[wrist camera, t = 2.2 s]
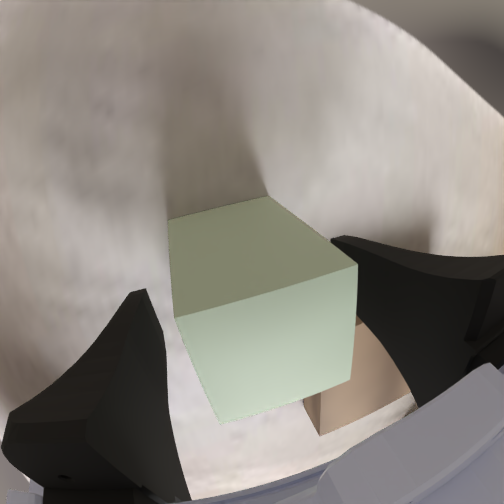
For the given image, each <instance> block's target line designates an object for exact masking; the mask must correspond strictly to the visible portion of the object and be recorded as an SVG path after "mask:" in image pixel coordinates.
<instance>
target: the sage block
mask: <svg viewBox="0 0 504 504" xmlns="http://www.w3.org/2000/svg"><path fill="white" fill-rule="evenodd" d="M168 239H169V258H170V273H171V287H172V299H173V310H174V319H175V321H176V324H177V327H178V329H179V332H180V334H181V337H182V339H183V342H184V345H185V347H186V349H187V352H188V354H189V357H190V359H191V362H192V364H193V366H194V369H195V371H196V373H197V376H198V378H199V380H200V383H201V385H202V387H203V389H204V392H205V394H206V396H207V398H208V400H209V403H210V405H211V407H212V409H213V411H214V413H215V415H216V417H217V420H218V422H219V424H220V425H221V424H225V423H228V422H232V421H236V420H239V419H243V418H246V417H250V416H253V415H256V414H260V413H263V412H266V411H269V410H272V409H275V408H278V407H281V406H284V405H287V404H290V403H293V402H296V401H298V400H301V399H304V398H306V397H309V396H312V395H314V394H317V393H319V392H322V391H324V390H327V389H329V388H332V387H334V386H337V385H339V384H341V383H344V382H346V381H348V380H350V376H351V367H352V357H353V347H354V335H355V322H356V305H357V283H358V264H357V263H356V262H355V261H353V260H352V259H351V258H350V257H348V256H347V255H346V254H345V253H343V252H342V251H341V250H339V249H338V248H337V247H336V246H334V245H333V244H332V243H331V242H329V241H328V240H327V239H325V238H324V237H323V236H322V235H320V234H319V233H318V232H316V231H315V230H314V229H312V228H311V227H310V226H309V225H307V224H306V223H305V222H303V221H302V220H301V219H299V218H298V217H297V216H295V215H294V214H293V213H291V212H290V211H289V210H287V209H286V208H285V207H283V206H282V205H281V204H279V203H278V202H276V201H275V200H274V199H272V198H271V197H270V196H265V197H261V198H256V199H252V200H247V201H243V202H239V203H235V204H230V205H226V206H222V207H218V208H214V209H210V210H206V211H202V212H198V213H194V214H190V215H186V216H182V217H178V218H174V219H171V220H168Z"/></svg>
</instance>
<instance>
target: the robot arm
mask: <svg viewBox="0 0 504 504" xmlns="http://www.w3.org/2000/svg"><path fill="white" fill-rule="evenodd" d="M331 243H332V244H333V245H334V246H336V247H337V248H338V249H339V250H341V251H342V252H343V253H345V254H346V255H347V256H348V257H350V258H351V259H352V260H353V261H355V262H356V263H357V264H358V283H357V305H356V315H357V316H358V317H359V318H360V320H361V321H362V322H363V323H364V324H365V325H366V326H367V327H368V328H369V329H370V331H371V332H372V333H373V334H374V335H375V336H376V337H377V339H378V340H379V341H380V342H381V344H382V345H383V347H384V348H385V350H386V351H387V352H388V354H389V355H390V357H391V358H392V360H393V361H394V363H395V365H396V366H397V368H398V370H399V371H400V373H401V375H402V376H403V378H404V380H405V382H406V383H407V385H408V387H409V389H410V391H411V393H412V395H413V396H414V399H415V401H416V403H417V405H418V407H419V409H417V410H415V411H414V412H412V413H411V414H409V415H407V416H405V417H404V418H402V419H400V420H399V421H397V422H395V423H393V424H391V425H390V426H388V427H386V428H384V429H382V430H380V431H378V432H377V433H375V434H373V435H372V436H370V437H369V438H367V439H365V440H364V441H362V442H360V443H358V444H357V445H355V446H353V447H351V448H350V449H349V450H347V451H346V452H345V453H344V454H342V455H341V456H340V457H338V458H336V459H334V460H331V461H329V462H327V463H324V464H322V465H319V466H317V467H314V468H312V469H309V470H306V471H304V472H301V473H298V474H295V475H292V476H289V477H286V478H283V479H280V480H277V481H274V482H271V483H267V484H264V485H260V486H257V487H253V488H249V489H245V490H241V491H237V492H233V493H229V494H224V495H220V496H215V497H210V498H204V499H198V500H192V499H191V497H190V494H189V491H188V488H187V485H186V481H185V478H184V475H183V471H182V468H181V464H180V460H179V457H178V453H177V448H176V444H175V440H174V435H173V430H172V425H171V420H170V414H169V406H168V389H167V358H166V348H165V341H164V335H163V330H162V328H161V325H160V323H159V321H158V318H157V316H156V313H155V311H154V308H153V306H152V303H151V301H150V298H149V296H148V293H147V290H146V288H145V289H141V290H137V291H133V292H130V293H129V294H128V296H127V297H126V298H125V300H124V301H123V303H122V304H121V306H120V307H119V309H118V310H117V312H116V313H115V314H114V316H113V317H112V319H111V320H110V322H109V323H108V324H107V326H106V327H105V328H104V330H103V331H102V332H101V334H100V335H99V336H98V338H97V339H96V340H95V342H94V343H93V344H92V345H91V346H90V348H89V349H88V350H87V351H86V352H85V353H84V354H83V355H82V357H81V358H80V359H79V360H78V361H77V362H76V363H75V364H74V365H73V366H72V367H71V368H69V369H68V370H67V371H66V372H65V373H64V374H63V375H62V376H61V377H60V378H59V379H58V380H56V381H55V382H54V383H53V384H51V385H50V386H49V387H48V388H46V389H45V390H44V391H42V392H41V393H40V394H38V395H37V396H35V397H34V398H33V399H31V400H29V401H28V402H26V403H25V404H23V405H21V406H20V407H18V408H17V409H15V410H13V411H11V412H10V413H9V417H8V421H7V424H6V428H5V432H4V436H3V441H2V445H1V449H2V451H3V454H4V456H5V457H6V458H7V459H8V461H9V462H10V463H11V464H12V465H13V466H14V467H16V468H17V469H18V470H19V471H21V472H22V473H23V474H25V475H26V476H27V477H29V478H30V486H29V492H25V491H19V490H13V489H9V490H8V492H7V502H6V504H504V255H497V256H488V257H455V256H442V255H434V254H427V253H420V252H415V251H410V250H406V249H401V248H397V247H393V246H389V245H385V244H381V243H377V242H374V241H370V240H366V239H362V238H358V237H353V236H346V235H343V236H339V237H336V238H332V239H331Z"/></svg>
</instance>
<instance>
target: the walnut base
mask: <svg viewBox="0 0 504 504" xmlns="http://www.w3.org/2000/svg"><path fill="white" fill-rule="evenodd" d="M409 392H411V391H410V389H409V387H408V385H407V383H406V382H405V380H404V378H403V376H402V375H401V373H400V371H399V370H398V368H397V366H396V365H395V363H394V361H393V360H392V358H391V357H390V355H389V354H388V352H387V351H386V350H385V348H384V347H383V345H382V344H381V342H380V341H379V340H378V339H377V337H376V336H375V335H374V334H373V333H372V332H371V331H370V329H369V328H368V327H367V326H366V325H365V324H364V323H363V322H362V321H361V320H360V318H359V317H358V316H357V315H356V322H355V335H354V347H353V357H352V367H351V376H350V380H348V381H346V382H344V383H341V384H339V385H337V386H334V387H332V388H329V389H327V390H324V391H322V392H319V393H317V394H314V395H312V396H309V397H306V398H304V408H305V410H306V412H307V414H308V415H309V417H310V419H311V421H312V423H313V425H314V427H315V429H316V431H317V432H318V434H319V436H322V435H324V434H327V433H329V432H332V431H334V430H336V429H339V428H341V427H343V426H345V425H348V424H350V423H352V422H354V421H356V420H358V419H360V418H362V417H365V416H367V415H369V414H371V413H373V412H375V411H377V410H378V409H380V408H382V407H384V406H386V405H388V404H390V403H392V402H393V401H395V400H397V399H399V398H401V397H402V396H404V395H406V394H408V393H409Z"/></svg>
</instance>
